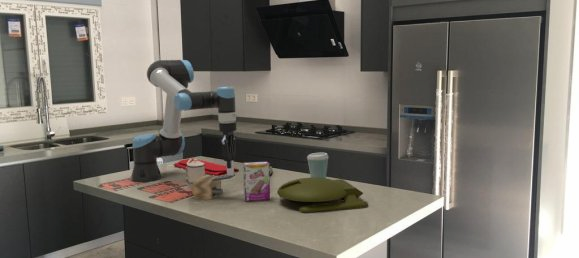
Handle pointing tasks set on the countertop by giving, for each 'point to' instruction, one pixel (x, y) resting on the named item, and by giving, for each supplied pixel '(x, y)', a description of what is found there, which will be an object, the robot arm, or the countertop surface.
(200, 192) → the oak block
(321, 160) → the disposable coffee cup
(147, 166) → the robot arm
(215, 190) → the lynch pin
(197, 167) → the teacup with lid
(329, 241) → the countertop surface
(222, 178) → the plate
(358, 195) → the spaceship
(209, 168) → the red long flat piece
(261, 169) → the candy bar box
